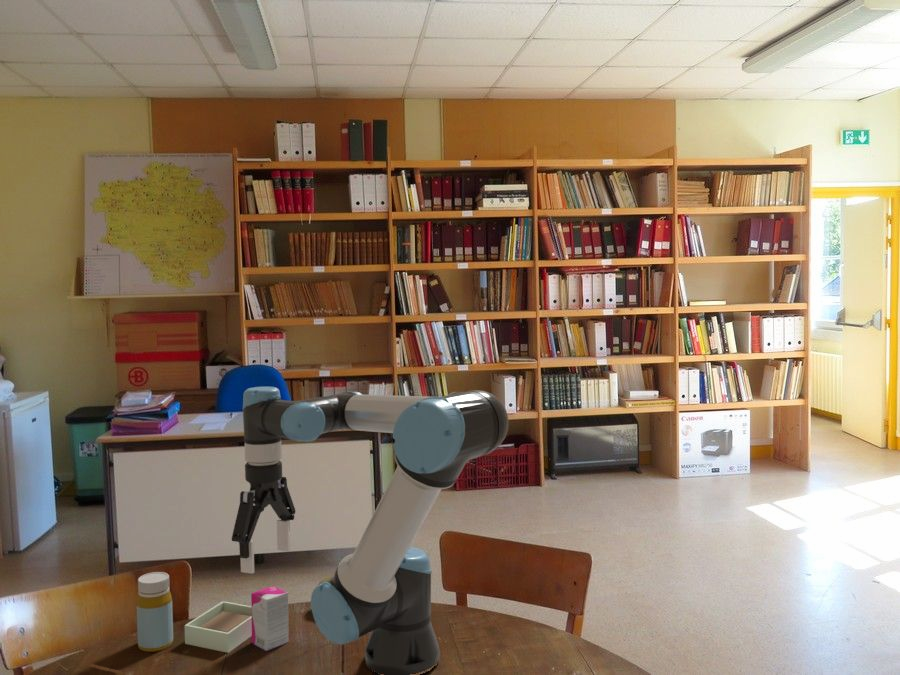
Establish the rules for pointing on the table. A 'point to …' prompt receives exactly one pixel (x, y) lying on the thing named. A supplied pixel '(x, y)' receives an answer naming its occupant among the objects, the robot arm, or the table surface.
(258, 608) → the supplement box
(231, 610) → the box
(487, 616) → the table surface
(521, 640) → the table surface
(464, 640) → the table surface
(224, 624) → the walnut block
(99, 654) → the table surface
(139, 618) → the bottle
